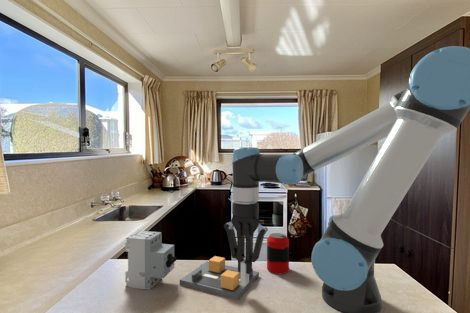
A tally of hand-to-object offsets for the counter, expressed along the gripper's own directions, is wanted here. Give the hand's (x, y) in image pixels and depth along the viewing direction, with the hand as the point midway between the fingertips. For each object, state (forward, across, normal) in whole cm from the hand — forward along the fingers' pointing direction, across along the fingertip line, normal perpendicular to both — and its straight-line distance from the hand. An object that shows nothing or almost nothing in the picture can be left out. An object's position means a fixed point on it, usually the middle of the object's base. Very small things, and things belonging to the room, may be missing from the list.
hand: (244, 283), depth 78 cm
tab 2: (+2, +5, 0) cm, 5 cm away
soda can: (+4, -3, -21) cm, 22 cm away
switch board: (+4, +11, -5) cm, 12 cm away
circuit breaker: (+4, +29, +6) cm, 30 cm away
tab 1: (+2, +14, -8) cm, 16 cm away
